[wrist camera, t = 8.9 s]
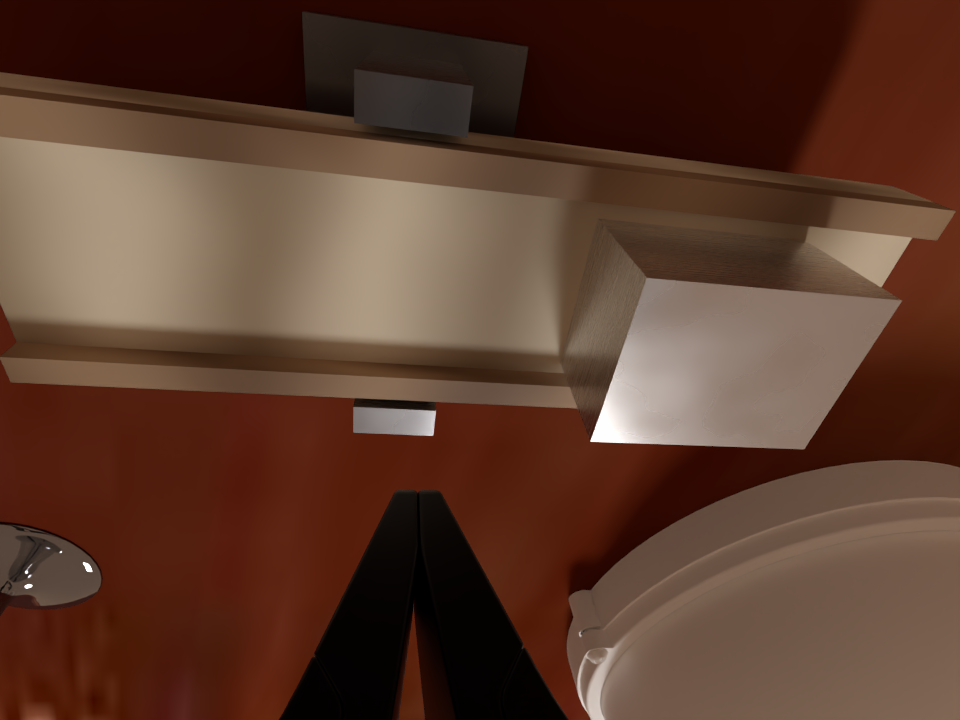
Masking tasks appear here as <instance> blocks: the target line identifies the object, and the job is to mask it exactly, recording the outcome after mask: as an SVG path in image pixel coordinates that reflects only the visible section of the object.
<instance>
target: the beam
mask: <svg viewBox="0 0 960 720" xmlns="http://www.w3.org/2000/svg"><path fill="white" fill-rule="evenodd" d="M955 212H956V211H955V210H952V209H950V208H947V207H944V206H942V205H939V204H937V203H934V202H932V201H929V200H927V199H924V198H922V197H919V196H916V195H914V194H911V193H909V192H906V191H904V190H901V189H899V188H896V187H894V186H888V185H880V184H872V183H864V182H856V181H848V180H841V179H833V178H825V177H817V176H809V175H801V174H794V173H786V172H778V171H770V170H762V169H754V168H747V167H739V166H731V165H723V164H715V163H707V162H700V161H692V160H684V159H676V158H668V157H660V156H653V155H645V154H637V153H629V152H621V151H613V150H606V149H598V148H590V147H582V146H574V145H566V144H559V143H551V142H543V141H535V140H527V139H519V138H512V137H504V136H496V135H488V134H480V133H473V132H468V138H467V137H460V136H452V135H444V134H436V133H428V132H420V131H413V130H405V129H397V128H389V127H381V126H373V125H366V124H358V123H354V117H347V116H339V115H332V114H324V113H316V112H308V111H300V110H292V109H285V108H277V107H269V106H261V105H253V104H245V103H238V102H230V101H222V100H214V99H206V98H198V97H191V96H183V95H175V94H167V93H159V92H151V91H144V90H136V89H128V88H120V87H112V86H104V85H97V84H89V83H81V82H73V81H65V80H57V79H50V78H42V77H34V76H26V75H18V74H10V73H3V72H0V303H1V306H2V308H3V310H4V313H5V315H6V318H7V320H8V322H9V325H10V327H11V329H12V332H13V334H14V337H15V339H16V341H17V343H15V344H14V345H13V346H12V347H11V348H10V349H8V350H7V351H6V352H5V353H4V354H3V355H1V356H0V359H1V362H2V364H3V366H4V368H5V370H6V373H7V375H8V377H9V379H10V381H11V382H17V383H38V384H60V385H82V386H104V387H125V388H147V389H169V390H191V391H212V392H234V393H256V394H278V395H299V396H321V397H343V398H365V399H386V400H408V401H430V402H452V403H473V404H495V405H517V406H539V407H560V408H577V405H576V403H575V400H574V398H573V395H572V392H571V390H570V387H569V385H568V382H567V379H566V377H565V374H564V372H563V369H562V367H561V364H560V359H561V355H562V352H563V348H564V344H565V341H566V337H567V333H568V329H569V326H570V322H571V318H572V315H573V311H574V307H575V303H576V300H577V296H578V292H579V289H580V285H581V281H582V277H583V274H584V270H585V266H586V263H587V259H588V255H589V251H590V248H591V244H592V240H593V236H594V233H595V229H596V225H597V222H598V219H608V220H617V221H626V222H636V223H645V224H655V225H664V226H674V227H683V228H692V229H702V230H711V231H721V232H730V233H739V234H749V235H758V236H768V237H777V238H786V239H796V240H805V241H807V242H809V243H810V244H812V245H814V246H815V247H817V248H818V249H820V250H822V251H823V252H825V253H826V254H828V255H830V256H831V257H833V258H835V259H836V260H838V261H839V262H841V263H843V264H844V265H846V266H847V267H849V268H851V269H852V270H854V271H855V272H857V273H859V274H860V275H862V276H863V277H865V278H867V279H868V280H870V281H871V282H873V283H875V284H876V285H878V286H879V287H882V285H883V284H884V282H885V280H886V279H887V277H888V276H889V274H890V272H891V271H892V269H893V268H894V266H895V264H896V263H897V261H898V260H899V258H900V256H901V255H902V253H903V252H904V250H905V248H906V247H907V245H908V244H909V242H910V240H911V239H912V238H920V239H929V240H937V239H938V238H939V236H940V235H941V233H942V232H943V230H944V229H945V227H946V226H947V224H948V223H949V221H950V219H951V218H952V216H953V215H954V213H955Z"/></svg>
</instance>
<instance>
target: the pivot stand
mask: <svg viewBox="0 0 960 720" xmlns="http://www.w3.org/2000/svg"><path fill="white" fill-rule="evenodd" d="M302 22H303V45H304V67H305V90H306V111H308V112H316V113H324V114H332V115H339V116H347V117H354V123H358V124H366V125H373V126H381V127H389V128H397V129H405V130H413V131H420V132H428V133H436V134H444V135H452V136H460V137H467V138H468V132H473V133H480V134H488V135H496V136H504V137H512V138H514V133H515V127H516V121H517V115H518V109H519V103H520V96H521V90H522V84H523V78H524V72H525V66H526V59H527V53H528V47H527V46H525V45H523V44H516V43H510V42H503V41H497V40H491V39H484V38H478V37H472V36H465V35H459V34H452V33H446V32H440V31H433V30H427V29H421V28H414V27H408V26H402V25H395V24H389V23H382V22H376V21H370V20H363V19H357V18H351V17H344V16H338V15H331V14H325V13H319V12H312V11H303V12H302ZM435 414H436V402H430V401H408V400H386V399H365V398H355V401H354V416H353V433H377V434H402V435H426V436H433V432H434V423H435Z"/></svg>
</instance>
